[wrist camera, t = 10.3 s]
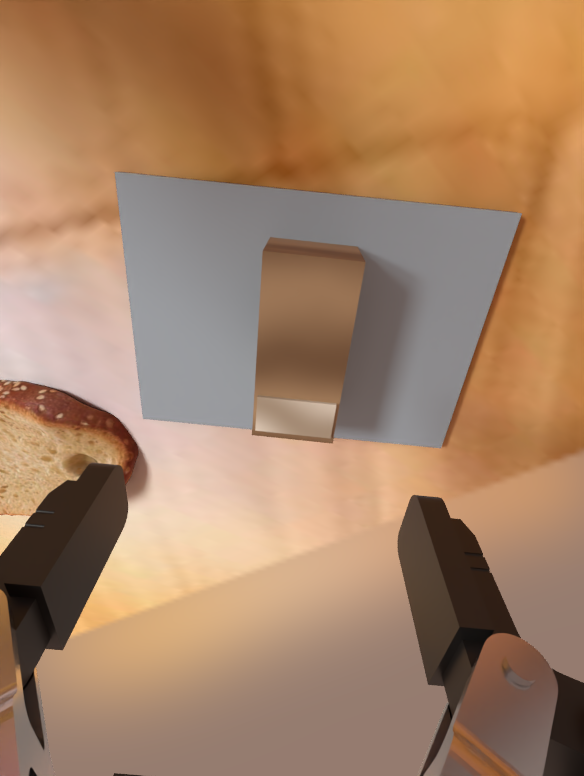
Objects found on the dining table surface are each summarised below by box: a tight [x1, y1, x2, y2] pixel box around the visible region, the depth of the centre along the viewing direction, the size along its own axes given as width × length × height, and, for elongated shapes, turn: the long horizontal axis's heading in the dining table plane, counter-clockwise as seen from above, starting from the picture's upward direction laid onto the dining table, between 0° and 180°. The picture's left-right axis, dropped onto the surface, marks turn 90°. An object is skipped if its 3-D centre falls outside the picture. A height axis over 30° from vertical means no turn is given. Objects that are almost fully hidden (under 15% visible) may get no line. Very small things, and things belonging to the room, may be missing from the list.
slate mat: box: [115, 172, 522, 448], centre depth 26 cm, size 22×16×1 cm
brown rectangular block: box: [252, 237, 366, 443], centre depth 24 cm, size 11×5×4 cm, turn 174°
